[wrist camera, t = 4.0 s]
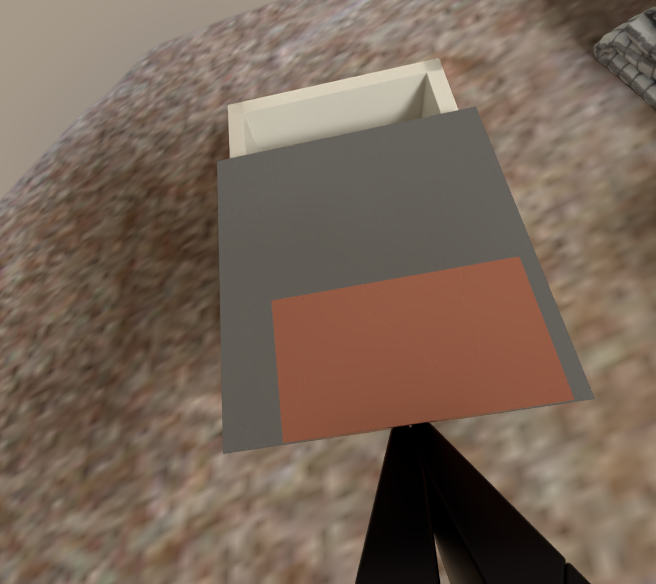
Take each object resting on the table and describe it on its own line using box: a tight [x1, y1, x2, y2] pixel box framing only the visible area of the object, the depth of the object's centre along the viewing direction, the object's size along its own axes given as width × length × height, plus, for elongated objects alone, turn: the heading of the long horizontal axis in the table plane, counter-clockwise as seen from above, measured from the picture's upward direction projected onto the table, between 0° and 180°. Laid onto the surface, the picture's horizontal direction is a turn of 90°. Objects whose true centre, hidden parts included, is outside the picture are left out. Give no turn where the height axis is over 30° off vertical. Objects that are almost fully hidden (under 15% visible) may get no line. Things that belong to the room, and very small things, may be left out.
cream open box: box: [228, 58, 458, 158], centre depth 19 cm, size 12×11×6 cm
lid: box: [217, 107, 595, 454], centre depth 11 cm, size 12×11×7 cm
